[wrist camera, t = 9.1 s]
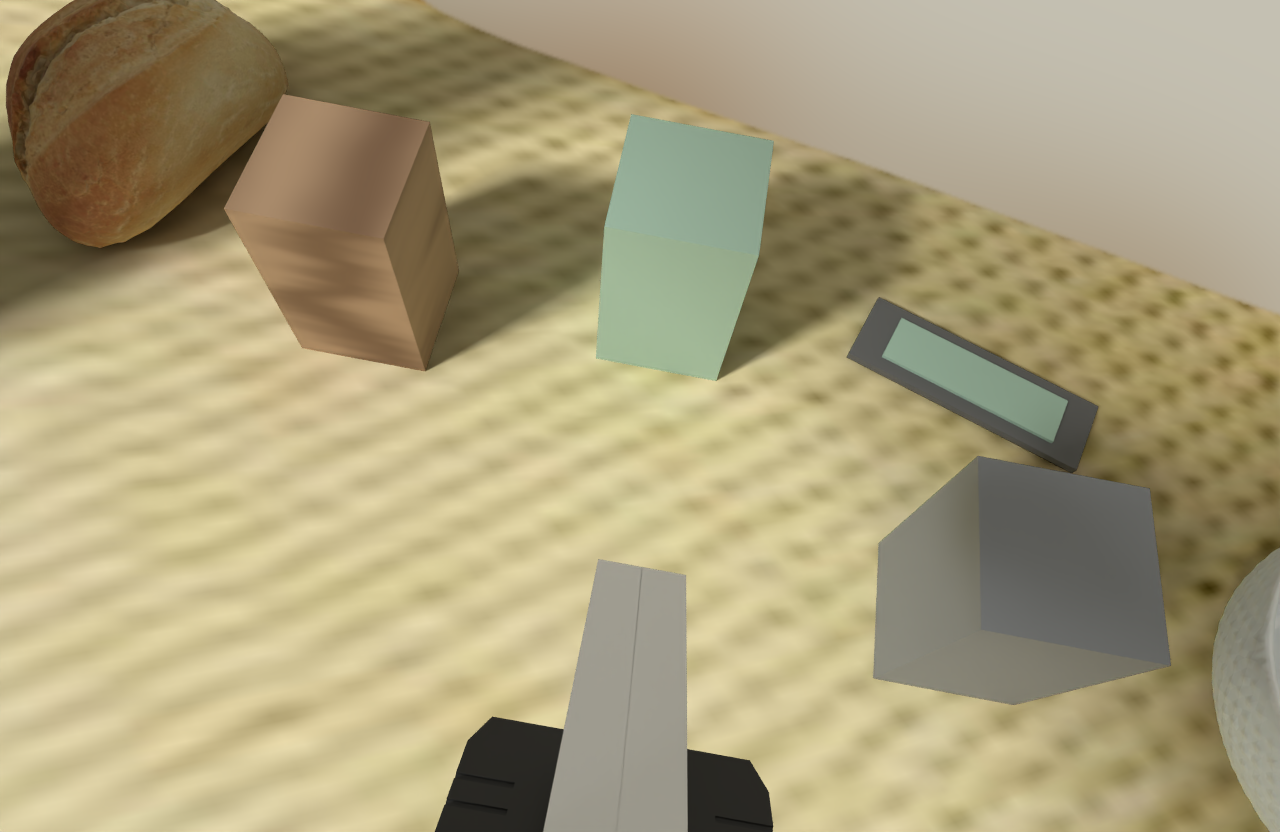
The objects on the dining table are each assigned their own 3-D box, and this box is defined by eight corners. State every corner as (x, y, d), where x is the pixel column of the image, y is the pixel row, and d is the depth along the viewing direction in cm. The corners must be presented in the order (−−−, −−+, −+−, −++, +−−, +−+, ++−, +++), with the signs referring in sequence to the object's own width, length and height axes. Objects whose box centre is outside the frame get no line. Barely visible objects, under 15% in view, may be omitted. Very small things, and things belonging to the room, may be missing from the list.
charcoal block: (873, 678, 34) (980, 629, 25) (878, 543, 37) (977, 456, 28) (1013, 704, 34) (1171, 665, 25) (1008, 567, 37) (1149, 488, 28)
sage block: (595, 358, 40) (604, 226, 31) (617, 261, 43) (631, 114, 34) (716, 381, 40) (758, 255, 31) (730, 282, 43) (773, 141, 34)
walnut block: (302, 348, 39) (223, 208, 30) (343, 249, 42) (283, 94, 33) (425, 371, 39) (383, 238, 30) (459, 271, 42) (429, 122, 33)
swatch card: (846, 357, 41) (850, 351, 41) (876, 301, 43) (880, 294, 42) (1071, 473, 39) (1078, 468, 39) (1093, 410, 41) (1100, 404, 41)
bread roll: (1, 223, 41) (-119, 98, 34) (191, 41, 47) (124, -97, 40) (164, 295, 40) (76, 181, 33) (336, 98, 46) (294, -33, 39)
